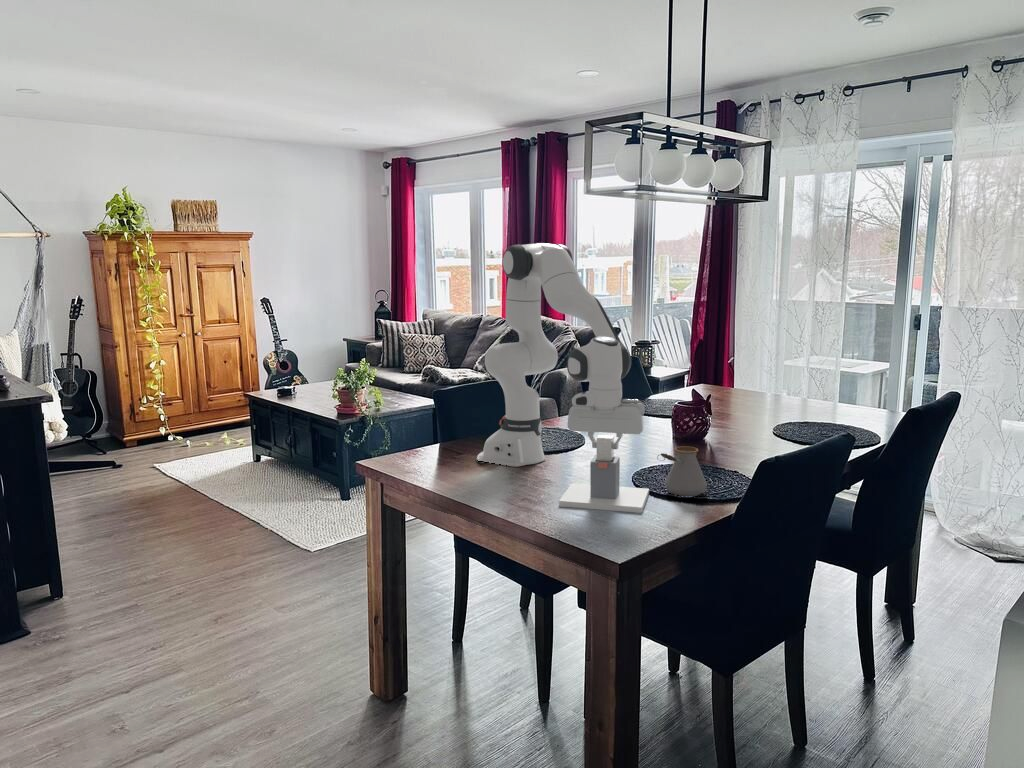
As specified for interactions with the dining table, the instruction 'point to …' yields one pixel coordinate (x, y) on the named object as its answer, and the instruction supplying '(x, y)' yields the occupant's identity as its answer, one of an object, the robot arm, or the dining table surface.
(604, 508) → the stand
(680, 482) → the coffee pot
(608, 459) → the column
